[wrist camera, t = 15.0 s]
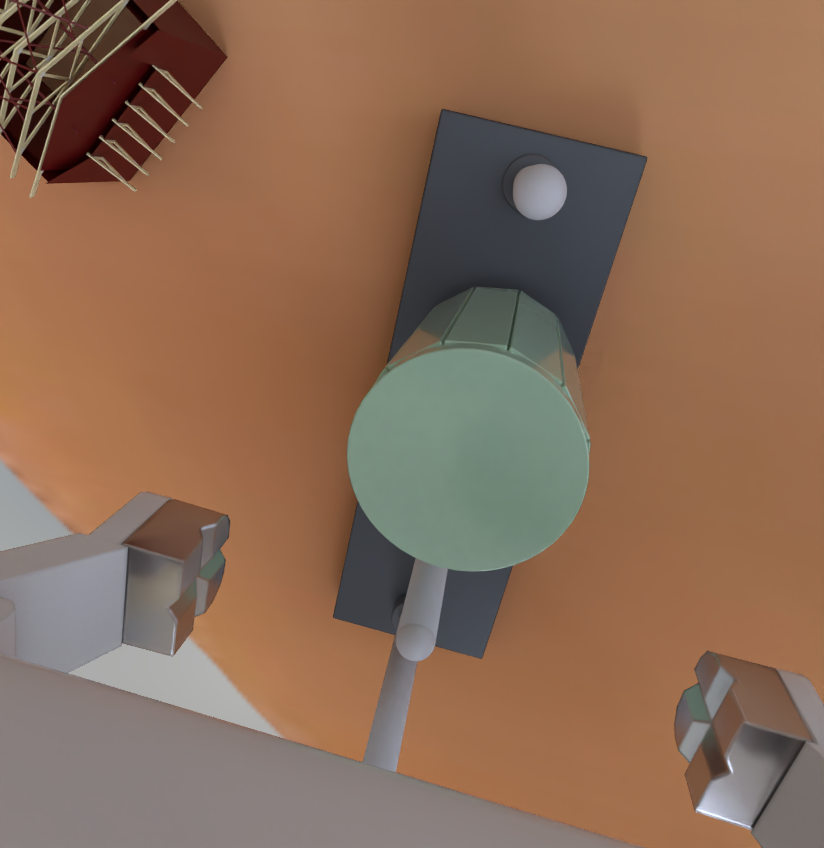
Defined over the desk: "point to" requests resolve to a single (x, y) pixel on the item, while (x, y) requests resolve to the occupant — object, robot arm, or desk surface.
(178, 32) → the toy houses
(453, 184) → the dish rack
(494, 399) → the cup
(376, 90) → the desk surface
